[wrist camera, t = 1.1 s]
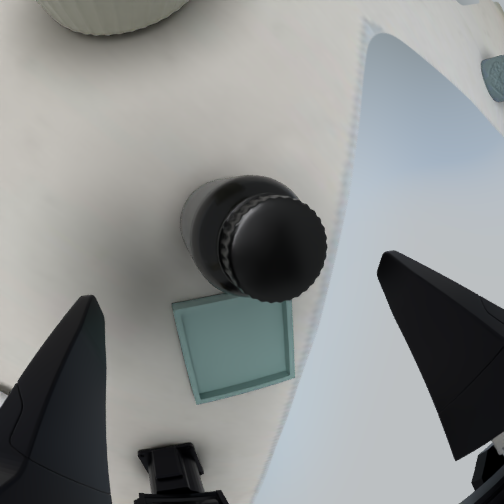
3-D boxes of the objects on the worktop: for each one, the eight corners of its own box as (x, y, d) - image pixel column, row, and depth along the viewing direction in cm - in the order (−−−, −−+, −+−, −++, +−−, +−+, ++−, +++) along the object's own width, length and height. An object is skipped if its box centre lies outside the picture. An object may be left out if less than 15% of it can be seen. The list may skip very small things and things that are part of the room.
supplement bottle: (233, 163, 23) (306, 142, 12) (275, 231, 26) (367, 265, 14) (160, 211, 22) (169, 233, 11) (209, 280, 24) (259, 352, 13)
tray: (288, 370, 29) (294, 377, 28) (193, 395, 26) (196, 404, 25) (283, 280, 27) (290, 285, 25) (171, 303, 24) (173, 310, 22)
